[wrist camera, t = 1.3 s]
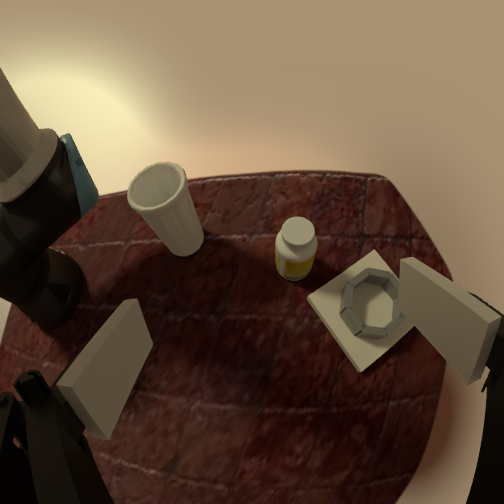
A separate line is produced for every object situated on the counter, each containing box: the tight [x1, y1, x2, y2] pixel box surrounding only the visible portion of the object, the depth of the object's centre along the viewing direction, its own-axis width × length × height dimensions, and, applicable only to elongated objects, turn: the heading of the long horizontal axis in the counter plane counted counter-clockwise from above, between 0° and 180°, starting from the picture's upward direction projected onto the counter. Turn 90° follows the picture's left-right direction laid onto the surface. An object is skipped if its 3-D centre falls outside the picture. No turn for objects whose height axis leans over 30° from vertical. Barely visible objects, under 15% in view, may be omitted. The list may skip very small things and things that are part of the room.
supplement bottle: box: [276, 217, 317, 281], centre depth 37 cm, size 5×5×10 cm
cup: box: [127, 162, 204, 256], centre depth 38 cm, size 8×8×14 cm
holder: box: [307, 250, 414, 372], centre depth 35 cm, size 13×13×4 cm
